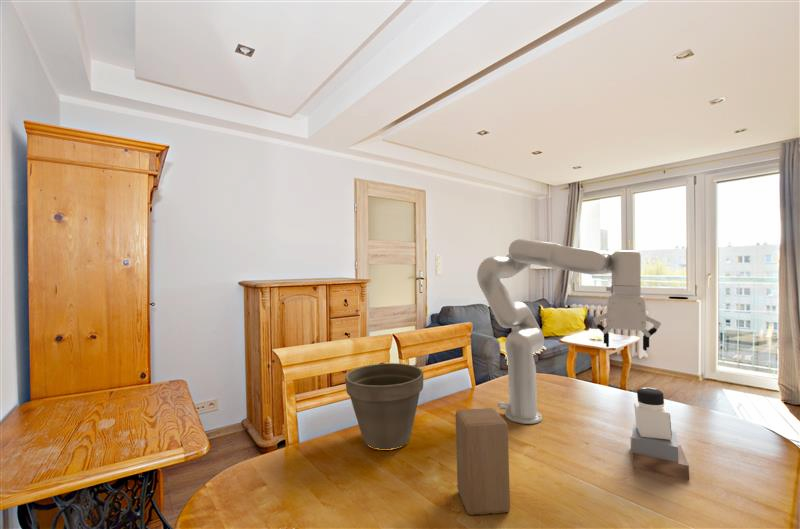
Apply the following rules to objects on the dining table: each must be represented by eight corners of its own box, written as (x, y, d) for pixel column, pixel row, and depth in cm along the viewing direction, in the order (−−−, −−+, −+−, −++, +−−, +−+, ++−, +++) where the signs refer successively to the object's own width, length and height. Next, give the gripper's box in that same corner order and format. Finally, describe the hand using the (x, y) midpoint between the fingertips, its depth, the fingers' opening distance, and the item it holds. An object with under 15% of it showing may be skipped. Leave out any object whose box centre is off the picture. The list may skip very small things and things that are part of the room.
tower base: (632, 469, 99) (632, 454, 99) (630, 450, 109) (630, 436, 109) (689, 481, 93) (688, 465, 93) (681, 459, 103) (680, 445, 103)
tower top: (632, 452, 100) (631, 437, 100) (634, 438, 108) (633, 424, 108) (678, 463, 94) (677, 447, 94) (676, 446, 102) (676, 432, 102)
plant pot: (358, 468, 102) (356, 389, 102) (339, 432, 125) (337, 368, 125) (438, 450, 111) (436, 377, 111) (407, 419, 134) (405, 359, 134)
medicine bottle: (672, 440, 97) (668, 394, 97) (640, 437, 100) (636, 392, 100) (665, 429, 104) (661, 386, 104) (635, 426, 106) (632, 384, 107)
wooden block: (456, 490, 90) (454, 408, 91) (496, 487, 91) (494, 406, 92) (467, 517, 80) (465, 425, 81) (511, 514, 81) (509, 422, 82)
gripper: (593, 291, 112) (592, 347, 112) (662, 293, 104) (662, 354, 104) (593, 289, 119) (593, 342, 119) (659, 291, 110) (659, 348, 110)
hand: (625, 347), depth 111 cm, fingers open, 9 cm apart
